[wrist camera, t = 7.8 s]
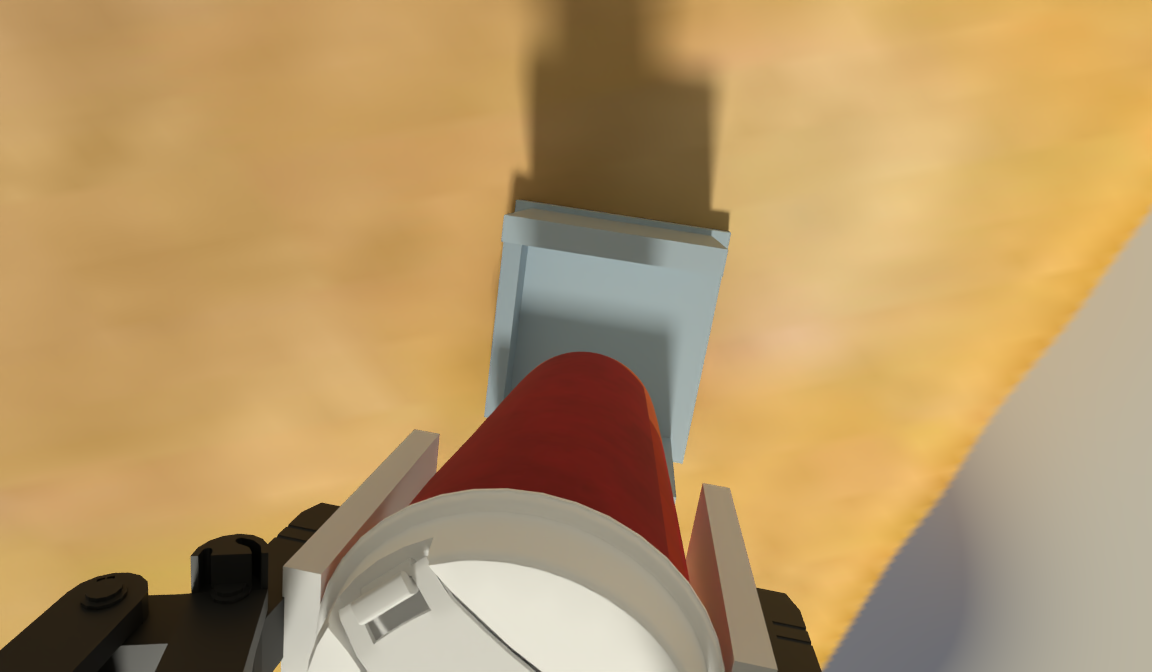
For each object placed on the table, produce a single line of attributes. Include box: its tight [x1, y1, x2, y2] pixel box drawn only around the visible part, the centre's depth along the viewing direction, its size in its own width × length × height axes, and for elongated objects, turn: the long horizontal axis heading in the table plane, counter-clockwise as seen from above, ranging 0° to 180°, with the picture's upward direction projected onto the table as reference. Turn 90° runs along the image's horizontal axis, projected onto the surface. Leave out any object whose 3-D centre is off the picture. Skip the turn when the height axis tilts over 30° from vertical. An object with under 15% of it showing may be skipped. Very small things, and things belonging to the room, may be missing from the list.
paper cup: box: [307, 352, 725, 672], centre depth 17 cm, size 8×8×14 cm
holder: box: [484, 199, 731, 503], centre depth 32 cm, size 14×12×8 cm
